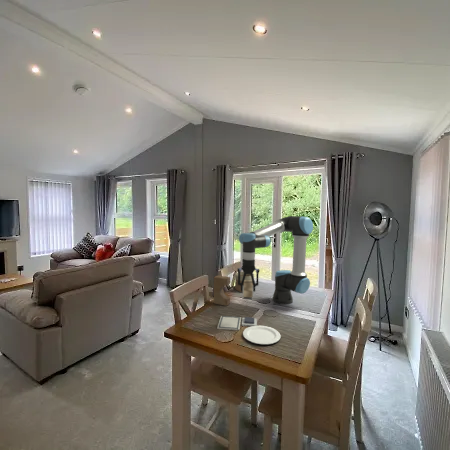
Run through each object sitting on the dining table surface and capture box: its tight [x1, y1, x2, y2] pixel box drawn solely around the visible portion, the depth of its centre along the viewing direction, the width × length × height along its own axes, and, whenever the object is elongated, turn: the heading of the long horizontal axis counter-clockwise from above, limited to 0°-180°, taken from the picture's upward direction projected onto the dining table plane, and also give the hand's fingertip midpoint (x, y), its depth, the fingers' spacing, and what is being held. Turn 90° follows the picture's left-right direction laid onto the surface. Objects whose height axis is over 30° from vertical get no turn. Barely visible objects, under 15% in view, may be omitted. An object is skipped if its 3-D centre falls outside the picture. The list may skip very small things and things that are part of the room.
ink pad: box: [241, 316, 258, 327], centre depth 162 cm, size 9×9×2 cm
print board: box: [216, 315, 242, 331], centre depth 161 cm, size 13×16×1 cm
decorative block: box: [213, 274, 231, 307], centre depth 192 cm, size 11×6×20 cm, turn 62°
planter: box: [234, 271, 255, 293], centre depth 224 cm, size 16×16×14 cm
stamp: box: [243, 280, 253, 300], centre depth 160 cm, size 5×5×10 cm
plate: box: [242, 325, 282, 346], centre depth 146 cm, size 21×21×2 cm
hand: (247, 296), depth 160 cm, fingers closed on stamp, 5 cm apart
